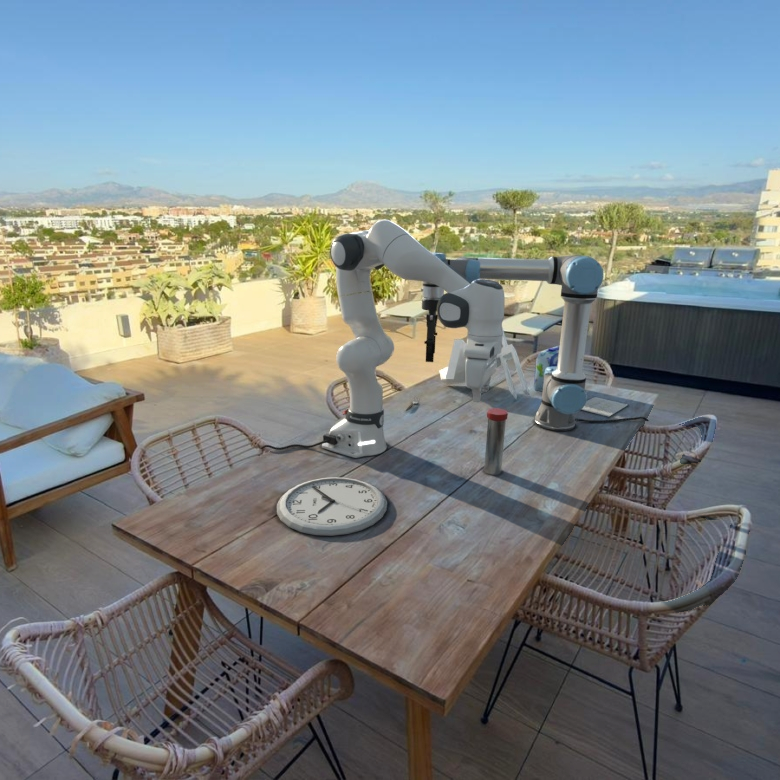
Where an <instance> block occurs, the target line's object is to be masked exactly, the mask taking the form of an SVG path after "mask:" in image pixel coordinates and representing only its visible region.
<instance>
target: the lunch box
mask: <svg viewBox="0 0 780 780" xmlns="http://www.w3.org/2000/svg"><path fill="white" fill-rule="evenodd" d="M559 346H560V345H556V346H553V347H549V348H547V349H544V350H542V351H540V352H539V353H538V355H537V357H536V360H535V369H534V381H533V389H534V391H535V392H539V393H542V392H543V382H544V373H545V369H546V368H547V367H553V366H557V364H558V355H559Z"/></svg>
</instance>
